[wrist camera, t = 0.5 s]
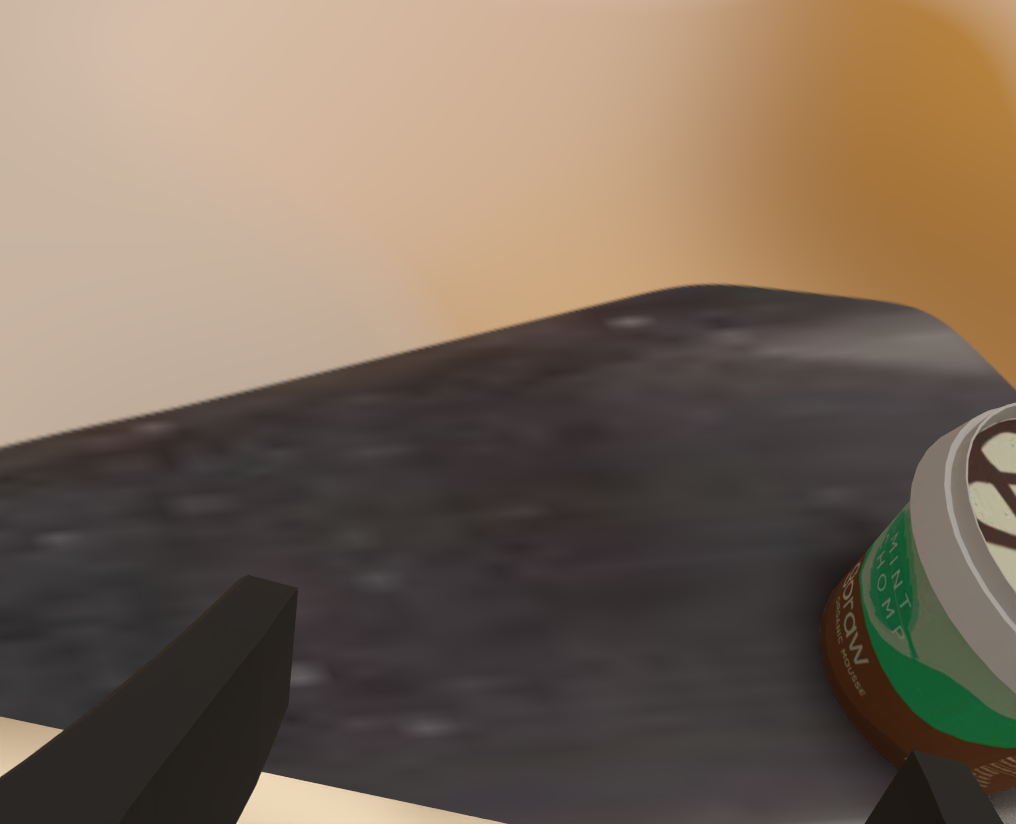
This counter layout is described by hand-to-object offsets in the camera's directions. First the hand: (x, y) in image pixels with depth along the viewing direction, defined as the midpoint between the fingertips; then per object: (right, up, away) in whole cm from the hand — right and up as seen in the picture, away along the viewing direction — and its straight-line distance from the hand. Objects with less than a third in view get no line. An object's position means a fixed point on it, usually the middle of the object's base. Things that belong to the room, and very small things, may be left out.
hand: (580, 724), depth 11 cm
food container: (+13, -6, +25) cm, 29 cm away
